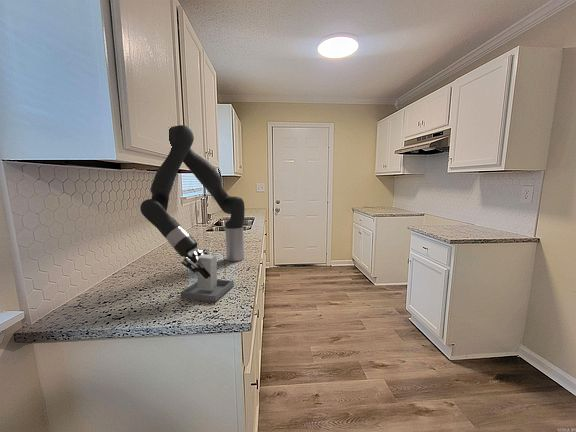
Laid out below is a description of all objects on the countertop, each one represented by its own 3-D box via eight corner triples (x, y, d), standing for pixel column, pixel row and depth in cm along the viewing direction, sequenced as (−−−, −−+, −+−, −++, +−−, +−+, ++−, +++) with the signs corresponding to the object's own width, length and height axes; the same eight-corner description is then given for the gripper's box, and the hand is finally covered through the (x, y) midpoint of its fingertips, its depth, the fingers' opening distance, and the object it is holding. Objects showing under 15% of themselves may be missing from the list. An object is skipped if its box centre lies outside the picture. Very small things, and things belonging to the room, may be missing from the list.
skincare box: (197, 288, 98) (195, 257, 96) (204, 283, 102) (202, 253, 100) (211, 290, 96) (209, 258, 94) (218, 285, 100) (216, 255, 99)
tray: (202, 283, 108) (202, 277, 107) (233, 286, 104) (233, 280, 104) (180, 298, 94) (180, 292, 94) (215, 302, 91) (215, 296, 91)
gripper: (174, 239, 91) (207, 275, 90) (198, 231, 105) (227, 262, 104) (163, 252, 93) (194, 288, 92) (187, 243, 107) (215, 274, 106)
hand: (211, 274), depth 98 cm, fingers closed on skincare box, 4 cm apart
